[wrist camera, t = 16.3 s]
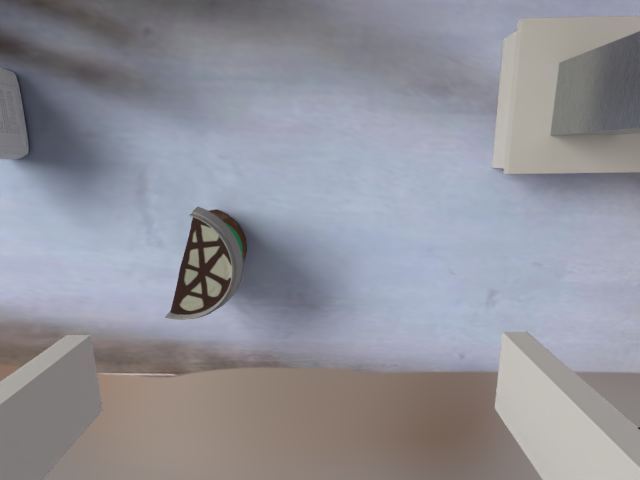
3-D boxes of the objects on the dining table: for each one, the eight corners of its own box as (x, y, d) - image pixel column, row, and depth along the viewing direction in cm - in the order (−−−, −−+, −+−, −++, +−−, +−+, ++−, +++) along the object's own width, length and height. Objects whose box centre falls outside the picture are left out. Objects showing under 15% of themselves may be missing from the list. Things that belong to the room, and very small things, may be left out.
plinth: (499, 34, 41) (522, 18, 36) (636, 31, 41) (678, 15, 36) (487, 172, 44) (507, 174, 40) (614, 170, 44) (650, 172, 39)
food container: (242, 301, 49) (221, 338, 39) (196, 288, 48) (164, 322, 38) (267, 213, 46) (252, 228, 36) (219, 197, 46) (190, 209, 36)
